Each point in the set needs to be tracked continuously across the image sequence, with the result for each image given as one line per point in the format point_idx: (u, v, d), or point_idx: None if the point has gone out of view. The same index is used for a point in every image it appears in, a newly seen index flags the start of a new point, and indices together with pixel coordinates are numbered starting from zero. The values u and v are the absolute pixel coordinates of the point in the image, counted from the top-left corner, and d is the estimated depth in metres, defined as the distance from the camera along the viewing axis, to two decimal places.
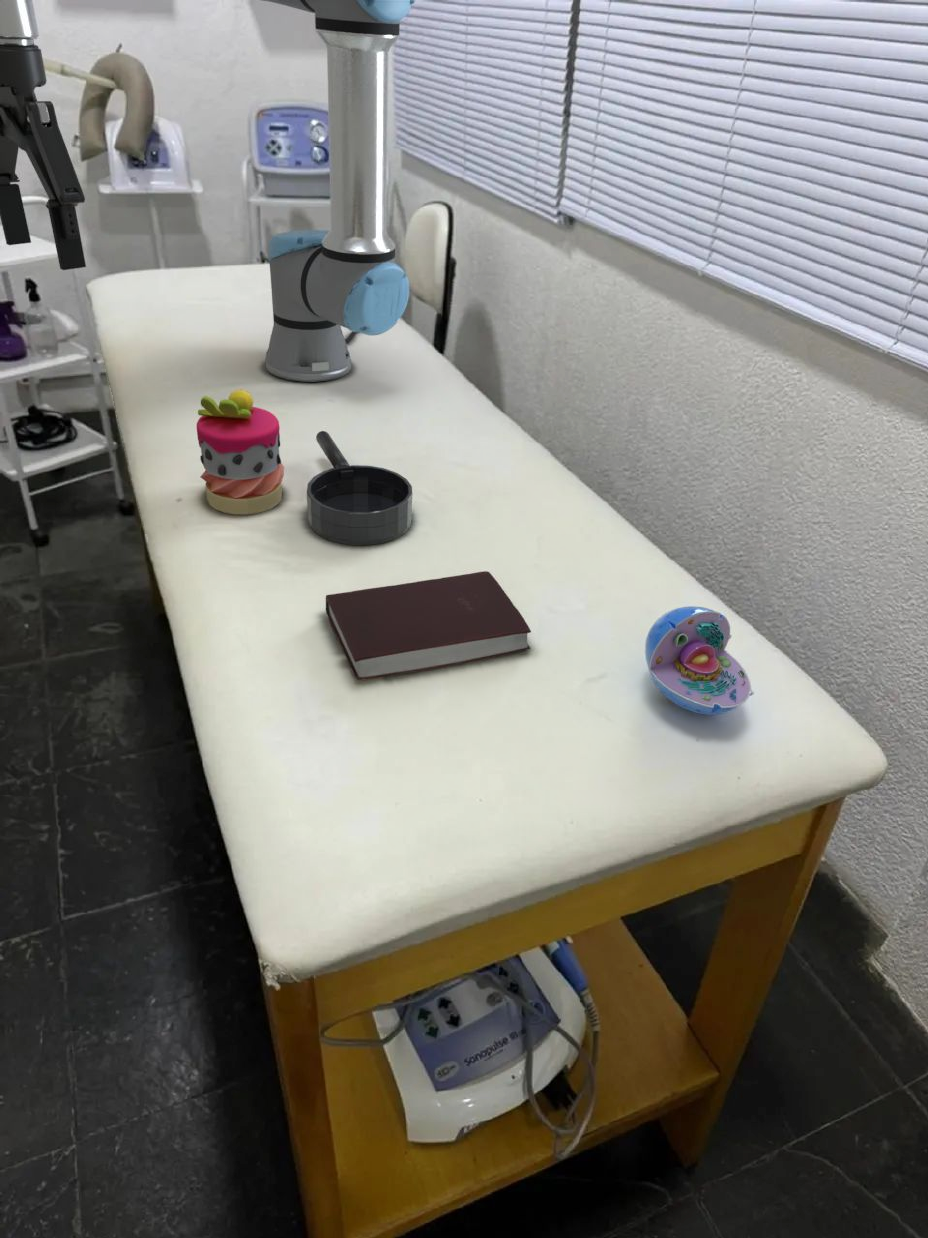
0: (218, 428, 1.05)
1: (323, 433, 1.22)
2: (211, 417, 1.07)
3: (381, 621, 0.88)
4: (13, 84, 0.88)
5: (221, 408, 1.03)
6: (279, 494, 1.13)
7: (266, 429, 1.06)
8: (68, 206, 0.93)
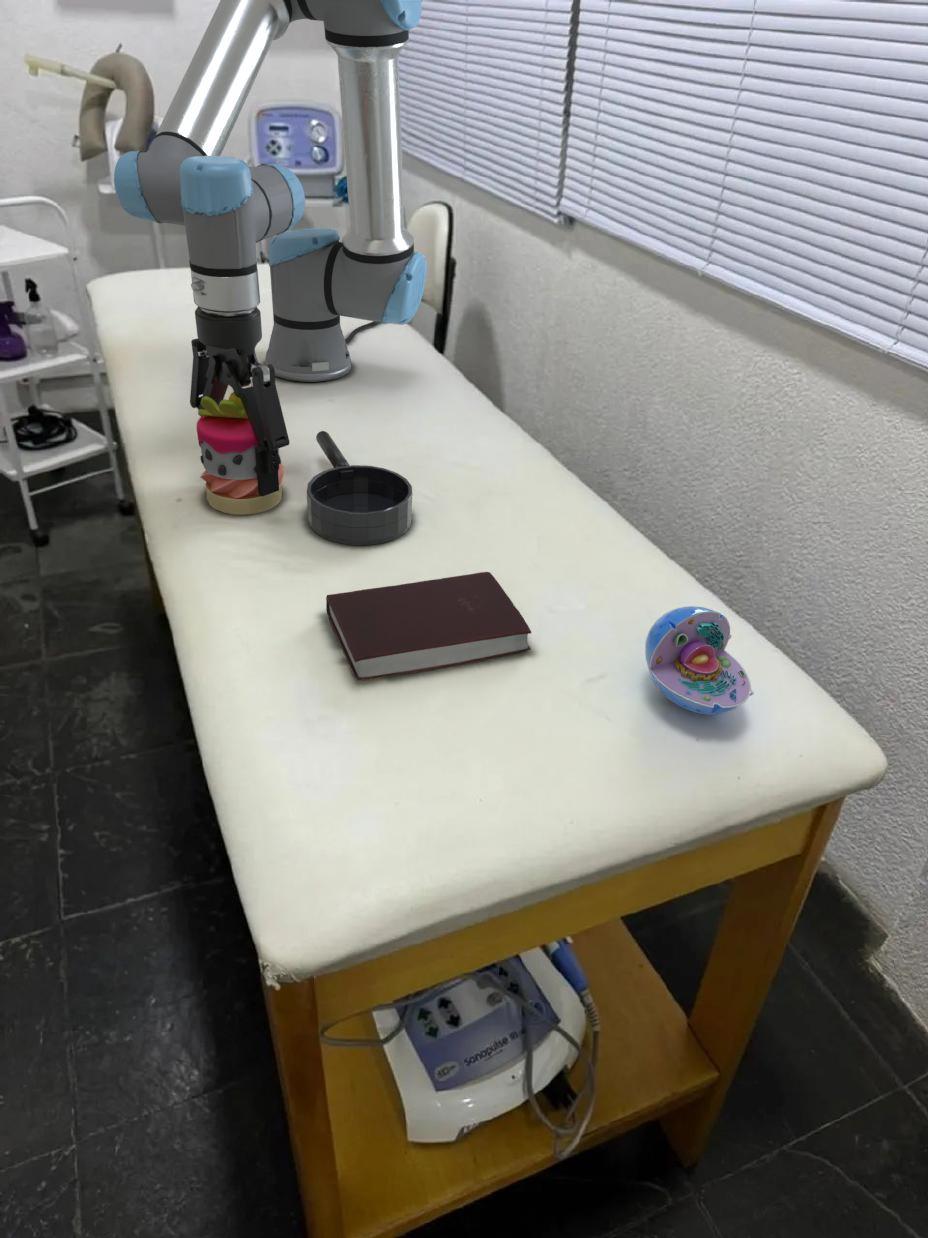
0: (218, 428, 1.05)
1: (323, 433, 1.22)
2: (211, 417, 1.07)
3: (381, 622, 0.88)
4: (240, 347, 0.99)
5: (222, 408, 1.03)
6: (279, 494, 1.13)
7: None
8: None
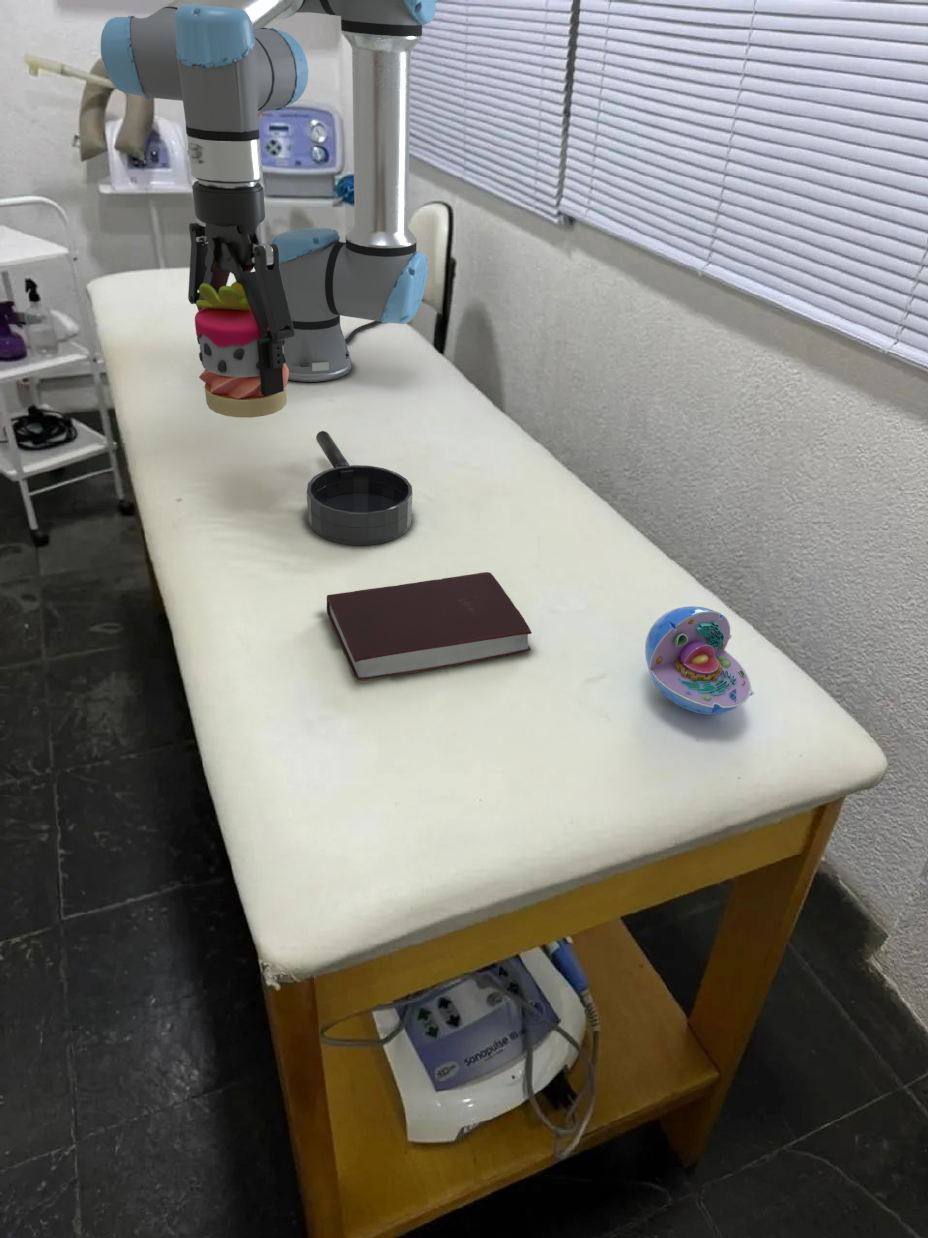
0: (218, 319, 0.97)
1: (323, 433, 1.22)
2: (210, 309, 0.99)
3: (381, 622, 0.88)
4: (241, 224, 0.92)
5: (221, 295, 0.96)
6: (284, 398, 1.06)
7: None
8: (278, 340, 0.97)
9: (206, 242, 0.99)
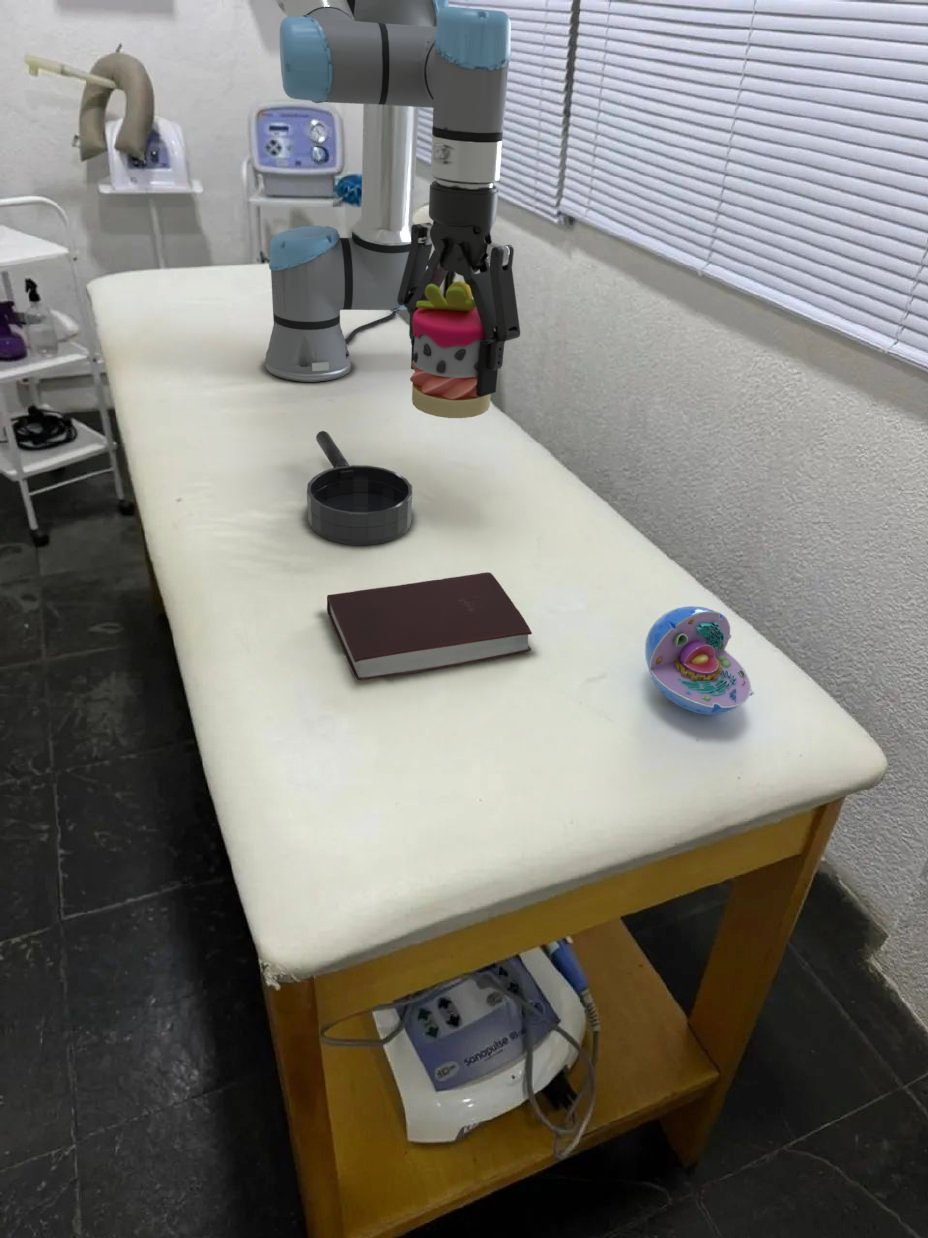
0: (442, 319, 0.97)
1: (323, 433, 1.22)
2: (430, 310, 0.99)
3: (381, 622, 0.88)
4: (479, 225, 0.92)
5: (449, 296, 0.96)
6: (489, 399, 1.06)
7: None
8: (502, 341, 0.97)
9: (427, 243, 0.99)
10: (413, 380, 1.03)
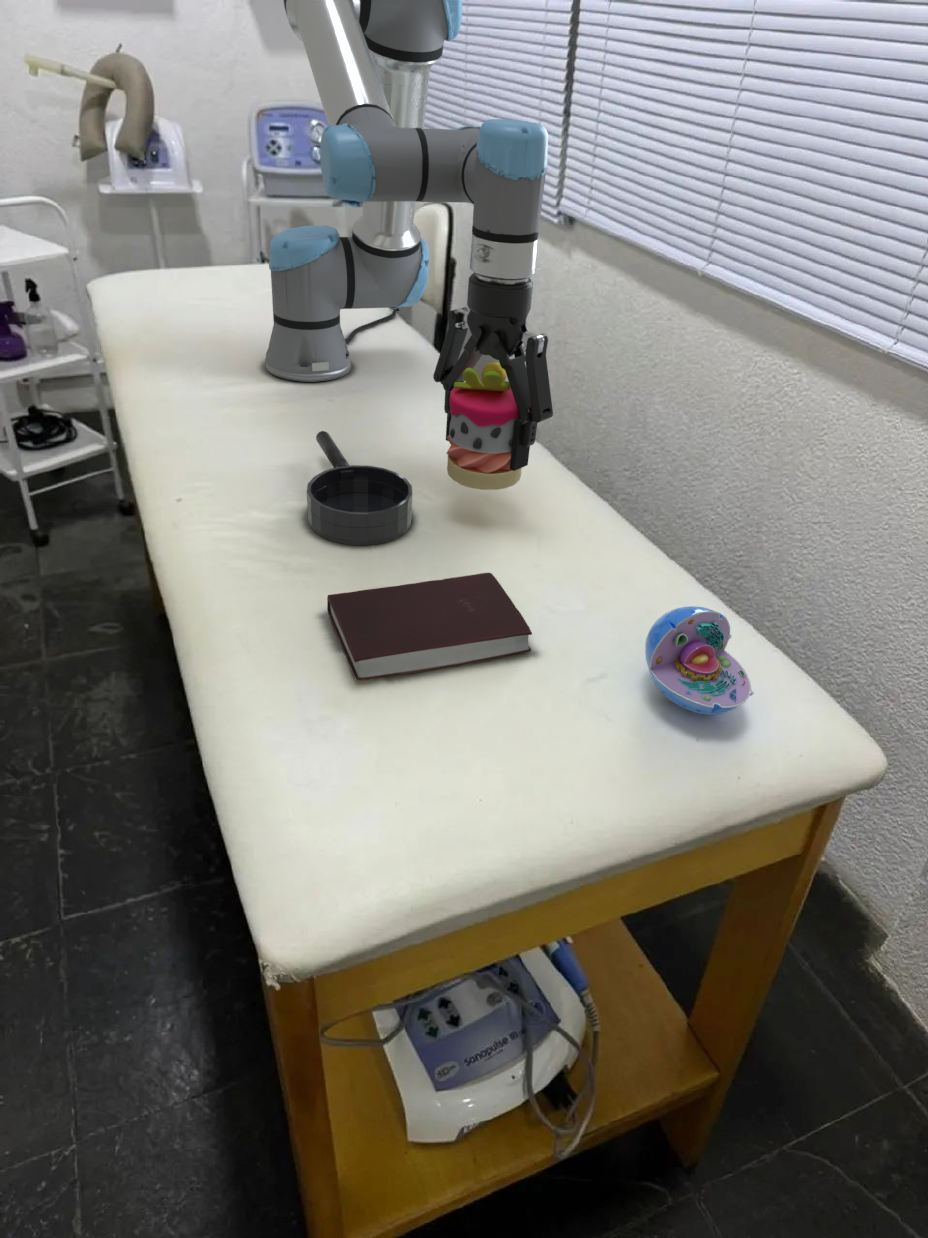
0: (478, 400, 1.03)
1: (323, 433, 1.22)
2: (466, 390, 1.05)
3: (381, 622, 0.88)
4: (515, 316, 0.98)
5: (486, 379, 1.02)
6: None
7: None
8: None
9: (464, 327, 1.05)
10: (449, 454, 1.09)
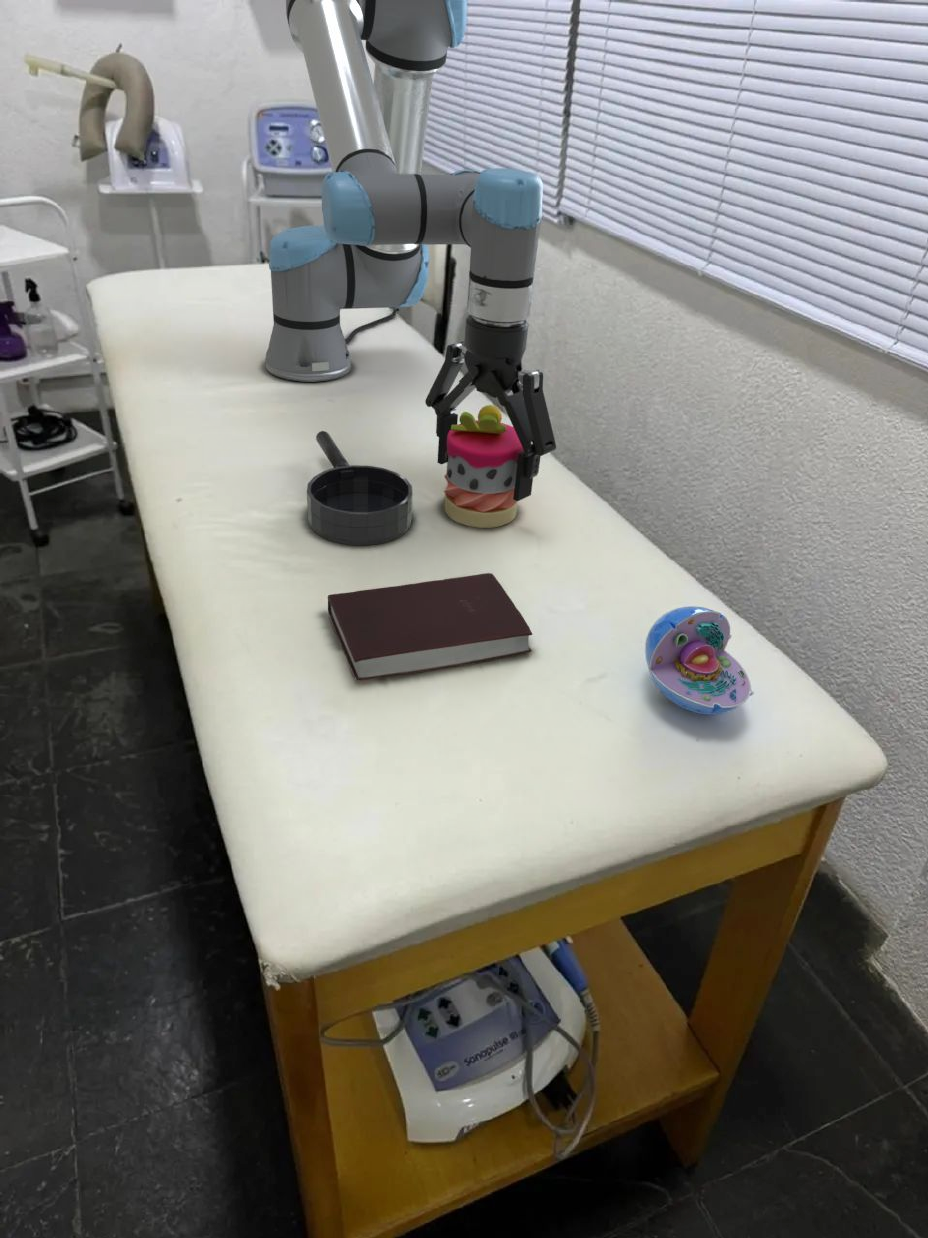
0: (475, 443, 1.06)
1: (323, 433, 1.22)
2: (463, 432, 1.08)
3: (382, 622, 0.88)
4: (511, 357, 1.00)
5: (482, 423, 1.05)
6: (516, 507, 1.15)
7: (519, 444, 1.08)
8: None
9: (460, 362, 1.07)
10: (447, 492, 1.12)
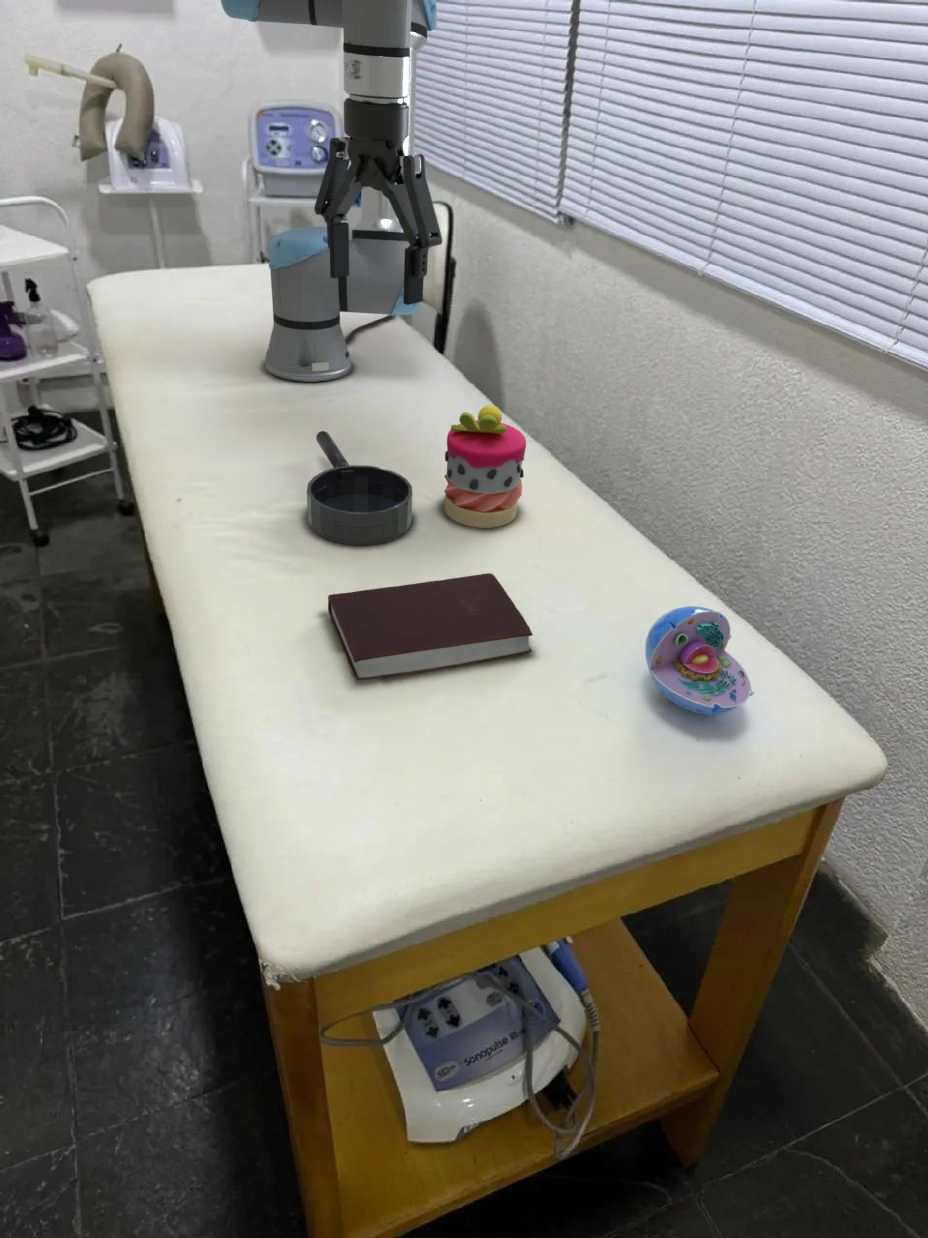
0: (475, 443, 1.06)
1: (323, 433, 1.22)
2: (463, 432, 1.08)
3: (382, 622, 0.88)
4: (390, 139, 0.97)
5: (482, 423, 1.05)
6: (516, 507, 1.15)
7: (519, 444, 1.08)
8: (425, 248, 1.02)
9: (345, 158, 1.04)
10: (447, 492, 1.12)
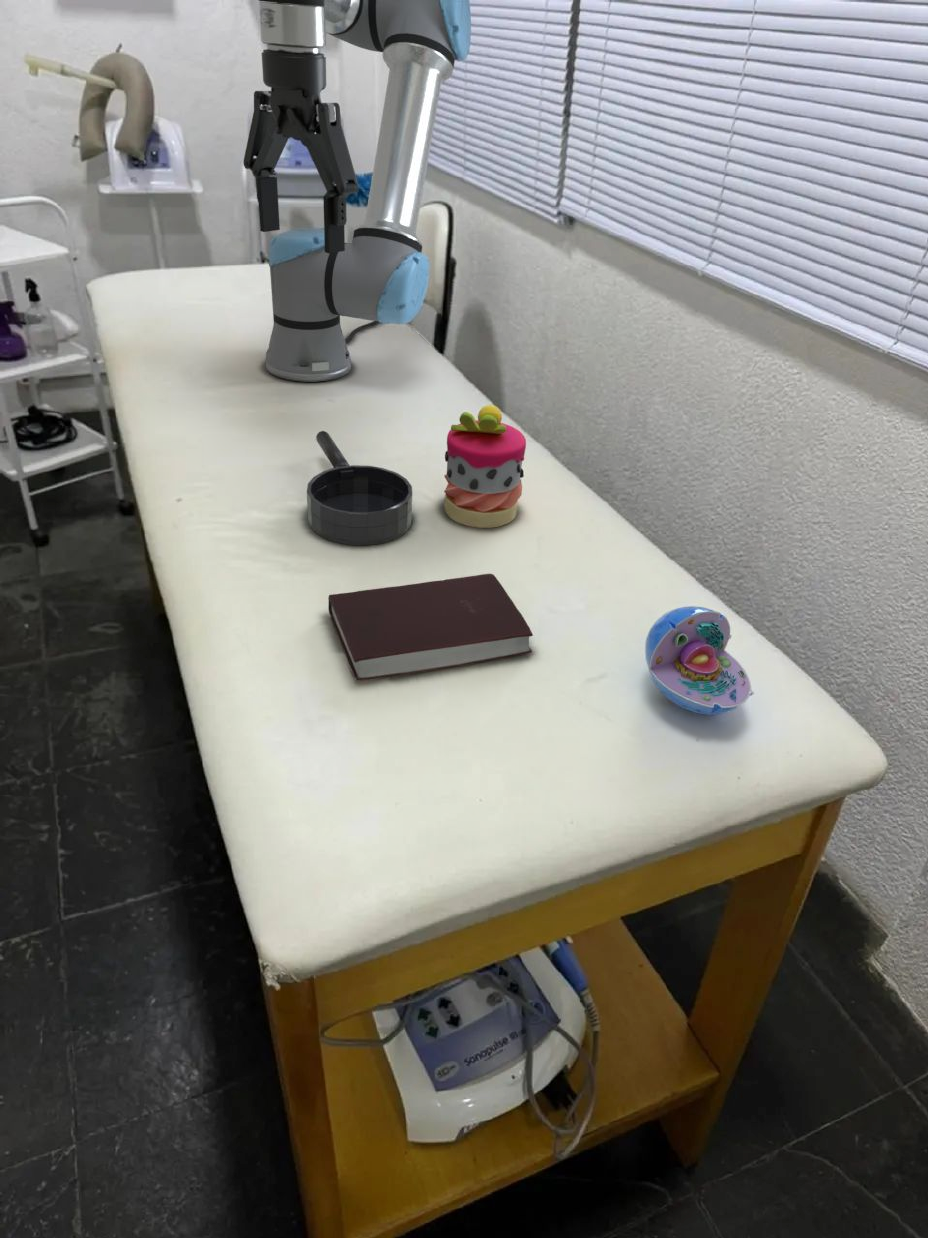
0: (475, 443, 1.06)
1: (323, 433, 1.22)
2: (463, 432, 1.08)
3: (382, 622, 0.88)
4: (306, 87, 1.00)
5: (482, 423, 1.05)
6: (516, 507, 1.15)
7: (519, 444, 1.08)
8: (343, 196, 1.05)
9: (268, 111, 1.07)
10: (447, 492, 1.12)
